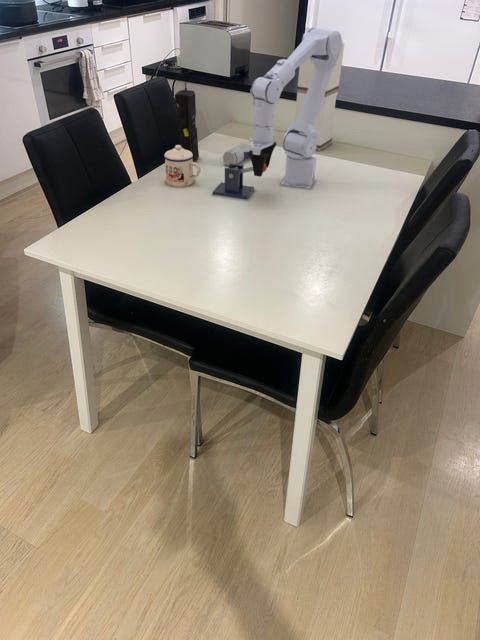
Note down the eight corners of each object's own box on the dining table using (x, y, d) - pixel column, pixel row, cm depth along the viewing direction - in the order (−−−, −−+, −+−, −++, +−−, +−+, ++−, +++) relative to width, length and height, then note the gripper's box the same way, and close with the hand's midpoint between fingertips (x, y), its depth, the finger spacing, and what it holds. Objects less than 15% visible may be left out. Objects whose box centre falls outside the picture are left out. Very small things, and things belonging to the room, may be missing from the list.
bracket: (254, 190, 160) (255, 164, 155) (247, 200, 154) (247, 173, 149) (221, 185, 162) (221, 160, 157) (212, 195, 156) (212, 168, 151)
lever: (268, 169, 152) (266, 159, 150) (266, 173, 150) (263, 163, 148) (232, 176, 157) (230, 166, 155) (229, 179, 154) (226, 170, 153)
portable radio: (193, 165, 176) (191, 88, 161) (176, 164, 177) (173, 87, 161) (199, 158, 182) (197, 83, 167) (183, 156, 183) (180, 81, 168)
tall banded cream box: (331, 143, 198) (344, 43, 177) (319, 151, 191) (332, 47, 170) (304, 138, 203) (314, 39, 182) (292, 145, 196) (301, 43, 175)
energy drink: (234, 168, 175) (252, 159, 183) (236, 153, 172) (254, 144, 180) (221, 164, 177) (240, 154, 185) (223, 149, 173) (242, 140, 182)
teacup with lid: (160, 184, 162) (157, 147, 155) (174, 174, 169) (172, 139, 162) (193, 191, 158) (192, 154, 151) (206, 181, 165) (206, 145, 158)
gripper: (257, 116, 150) (255, 161, 158) (242, 130, 138) (241, 178, 147) (280, 118, 148) (277, 164, 156) (267, 133, 137) (265, 181, 145)
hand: (261, 171), depth 151 cm, fingers open, 7 cm apart
